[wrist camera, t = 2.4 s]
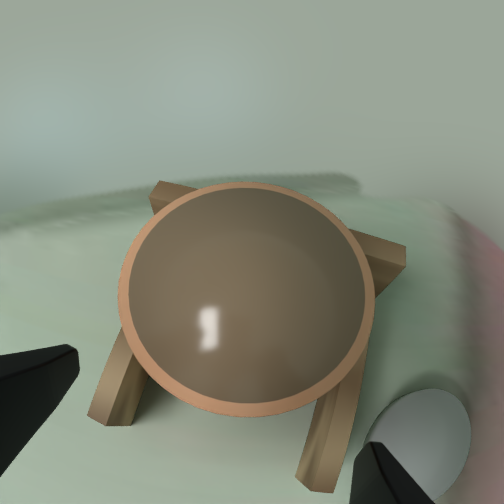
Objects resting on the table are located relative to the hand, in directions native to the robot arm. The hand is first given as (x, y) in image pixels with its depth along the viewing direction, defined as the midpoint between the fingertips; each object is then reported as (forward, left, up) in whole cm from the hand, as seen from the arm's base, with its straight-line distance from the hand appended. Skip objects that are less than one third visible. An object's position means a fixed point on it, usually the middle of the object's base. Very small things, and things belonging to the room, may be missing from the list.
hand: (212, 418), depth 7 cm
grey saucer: (-5, -13, -10) cm, 17 cm away
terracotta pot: (+3, -1, -10) cm, 11 cm away
